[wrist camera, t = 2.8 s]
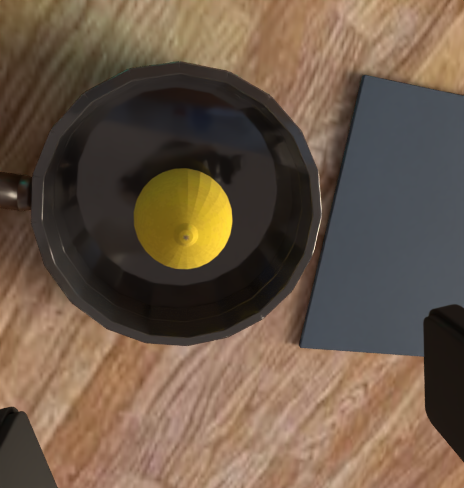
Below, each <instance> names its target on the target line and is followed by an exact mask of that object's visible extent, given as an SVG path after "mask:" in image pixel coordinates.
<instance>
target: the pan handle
mask: <svg viewBox="0 0 464 488" xmlns="http://www.w3.org/2000/svg"><path fill="white" fill-rule="evenodd" d="M31 201H32V177H30V176H27V175H21V174H14V173H6V172H0V208H1V209H9V210H18V211H29V210H31Z"/></svg>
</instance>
